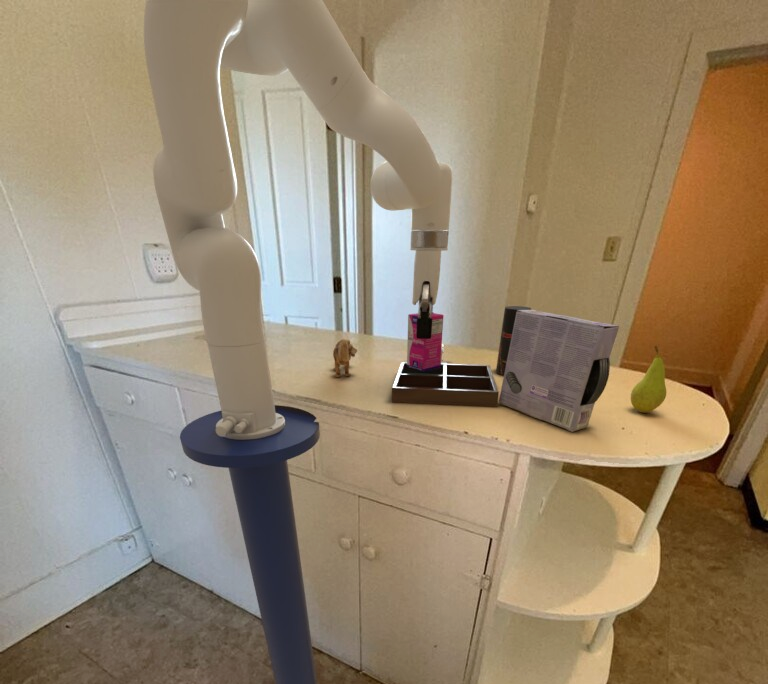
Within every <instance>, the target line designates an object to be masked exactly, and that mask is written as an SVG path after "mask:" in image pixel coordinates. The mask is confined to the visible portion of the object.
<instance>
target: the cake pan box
mask: <svg viewBox="0 0 768 684" xmlns="http://www.w3.org/2000/svg"><path fill="white" fill-rule="evenodd" d="M619 329H620V327H619V325H617V324H611V323H605V322H599V321H593V320H589V319H583V318H579V317H574V316H570V315H563V314H556V313H552V312H545V311H540V310H536V309H531V310H517V312H516V318H515V323H514V328H513V333H512V338H511V343H510V348H509V353H508V358H507V363H506V368H505V373H504V375H503V379H502V384H501V388H500V389H501V390H500V392H499V393H500V394H499V397H498V404H500V405H502V406H505V407H508V408H511V409H513V410H516V411H518V412H520V413H523V415H527V416H530V417H532V418H535V419H537V420H539V421H544V422H546V423H549V424H552V425H555V426H557V427H560V428H563V429H565V430H567V431H568V432H571V433H574V432H577V431H580V430H584V429H586V428H588V427H589V423H590V420H591V417H592V413H593V410H594V407H595V404H596V402H597V401H598V400H599V399H600V398H601V396H602V394H603V392H604V391H605V388H606V386H607V384H608V381H609V377H610V370H611V369H610V368H611V361H610V357H611V353H612V351H613V348H614V344H615V342H616V338H617V336H618V332H619Z"/></svg>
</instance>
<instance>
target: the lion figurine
mask: <svg viewBox="0 0 768 684" xmlns="http://www.w3.org/2000/svg"><path fill="white" fill-rule="evenodd" d="M357 352H358V349H357V348H355V347H354V345H353V344H351V341H350V339H348V338H343V339H341V340H339V341H338V342H337V343H336V344H335V347H334V349H333V352H332V355H333V357H332V358H333V360H334V367H333V371H335V375H334V377H335V378H340V377H341V371H340V366H343V367H344V375H345V377H350V376H351V375H352V374H351V373H350V372H349V371H350V361H351V358H356V357H355V356H356V354H357Z"/></svg>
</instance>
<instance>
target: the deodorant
mask: <svg viewBox="0 0 768 684" xmlns="http://www.w3.org/2000/svg"><path fill="white" fill-rule="evenodd" d="M517 310H532V308H531V307H529V306H521V305H509V306H508V305H507V306H505V307H504V312H503V318H502V324H501V325H502V326H501V331H500V332H501V333H500V340H499V347H498V354H497V361H496V367H495V374H498V375H500V376H504V373H505V368H506V363H507V358H508V353H509V348H510V343H511V338H512V333H513V328H514V323H515V318H516V312H517Z"/></svg>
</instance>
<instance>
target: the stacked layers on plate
mask: <svg viewBox="0 0 768 684" xmlns="http://www.w3.org/2000/svg"><path fill="white" fill-rule="evenodd" d="M442 347H445V343H442ZM442 347H441V363H440V364H449V362H447V361H444V356H443V354H444V352H445V350H444V348H442Z"/></svg>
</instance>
